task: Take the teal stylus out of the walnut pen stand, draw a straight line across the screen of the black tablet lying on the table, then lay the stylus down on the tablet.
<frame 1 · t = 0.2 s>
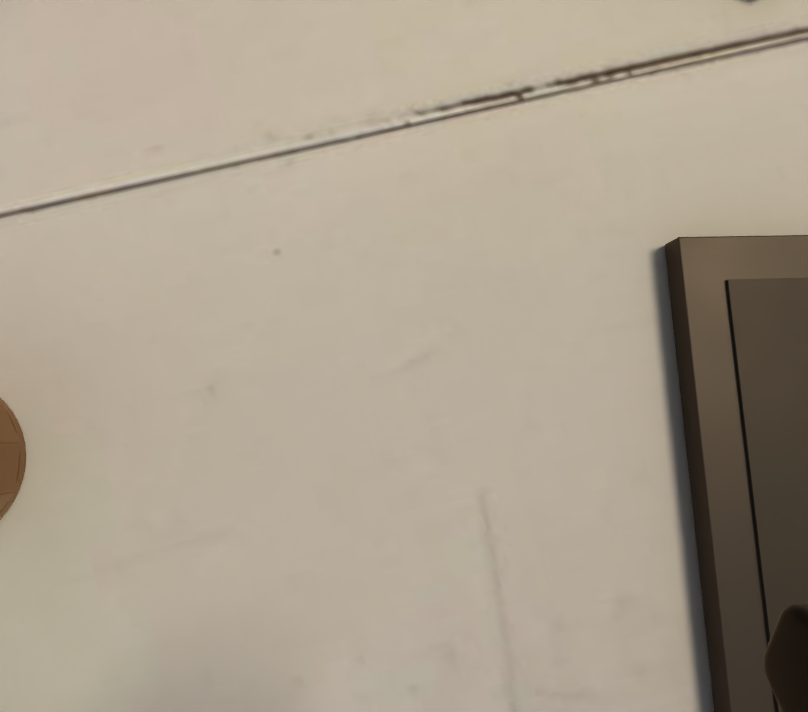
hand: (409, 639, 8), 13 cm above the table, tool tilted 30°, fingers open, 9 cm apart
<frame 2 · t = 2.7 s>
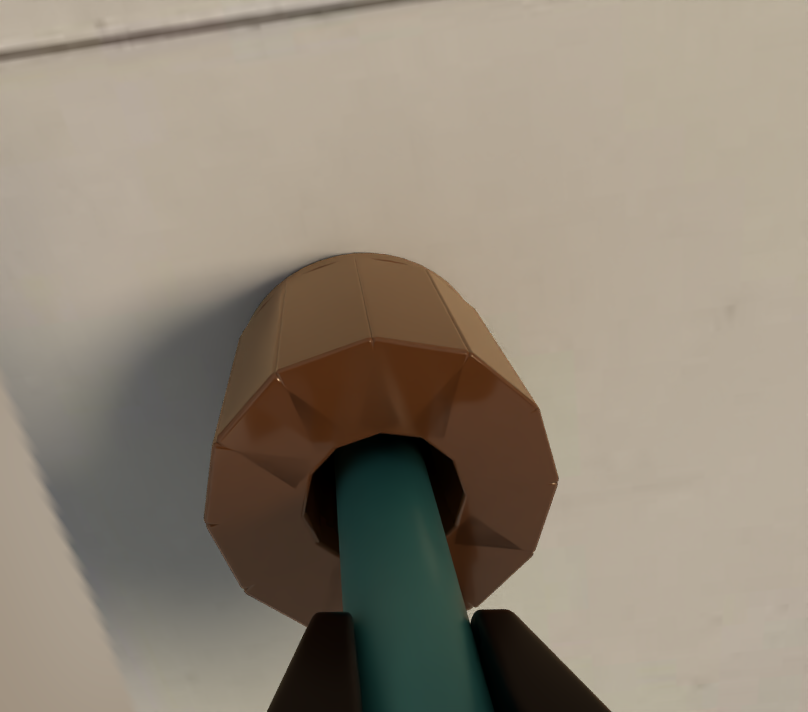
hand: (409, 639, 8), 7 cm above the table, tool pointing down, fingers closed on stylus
pen stand: (363, 372, 14), on the table
stylus: (365, 382, 13), resting on pen stand, touching gripper
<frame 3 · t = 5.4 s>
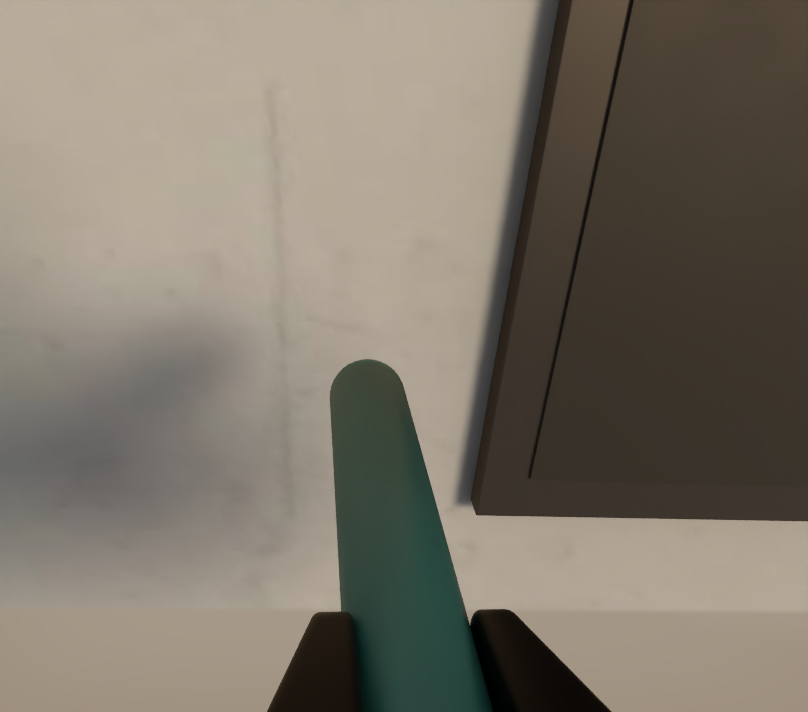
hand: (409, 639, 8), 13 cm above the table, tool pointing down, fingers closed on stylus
stylus: (364, 380, 13), point 6 cm above the table, touching gripper
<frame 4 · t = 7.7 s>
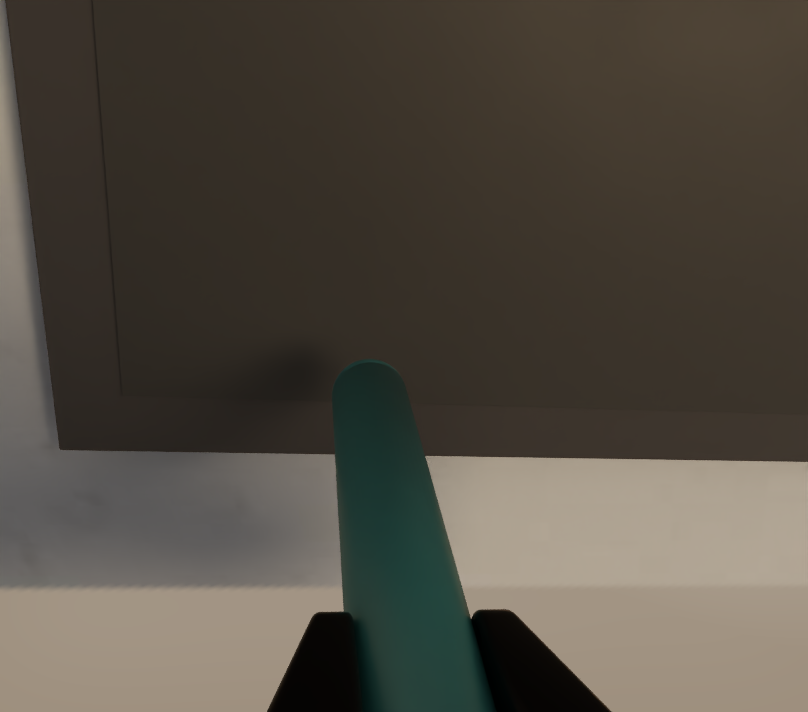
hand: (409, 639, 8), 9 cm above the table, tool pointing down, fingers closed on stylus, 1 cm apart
tablet: (725, 33, 14), on the table
stylus: (366, 380, 13), point 3 cm above the table, touching gripper
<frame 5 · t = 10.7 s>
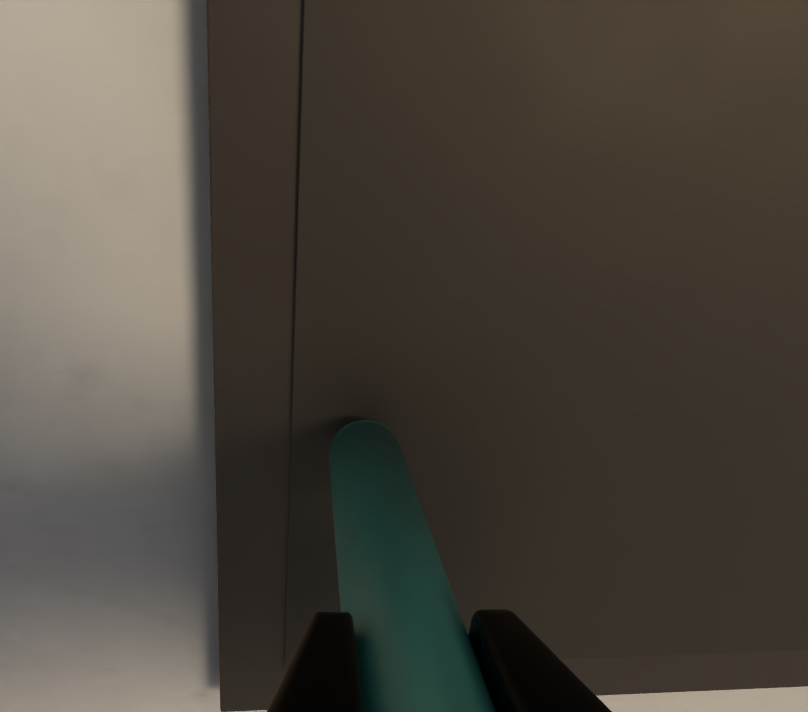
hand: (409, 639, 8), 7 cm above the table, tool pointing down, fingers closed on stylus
stylus: (362, 443, 14), point 1 cm above the table, tilted 10°, touching gripper
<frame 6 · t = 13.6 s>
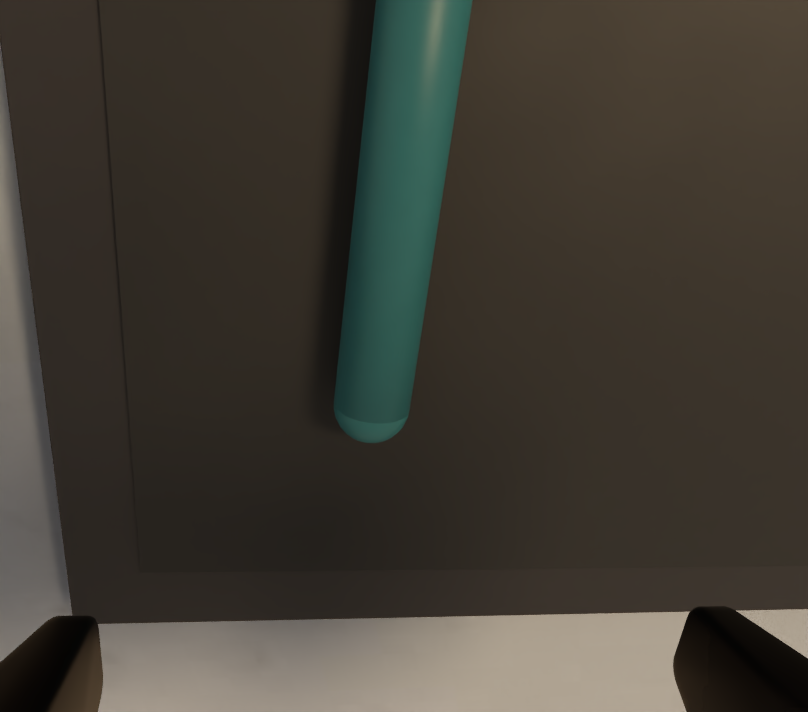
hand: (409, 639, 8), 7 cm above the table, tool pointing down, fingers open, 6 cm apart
tablet: (777, 196, 14), on the table
stylus: (367, 437, 13), point 2 cm above the table, tilted 90°, touching tablet
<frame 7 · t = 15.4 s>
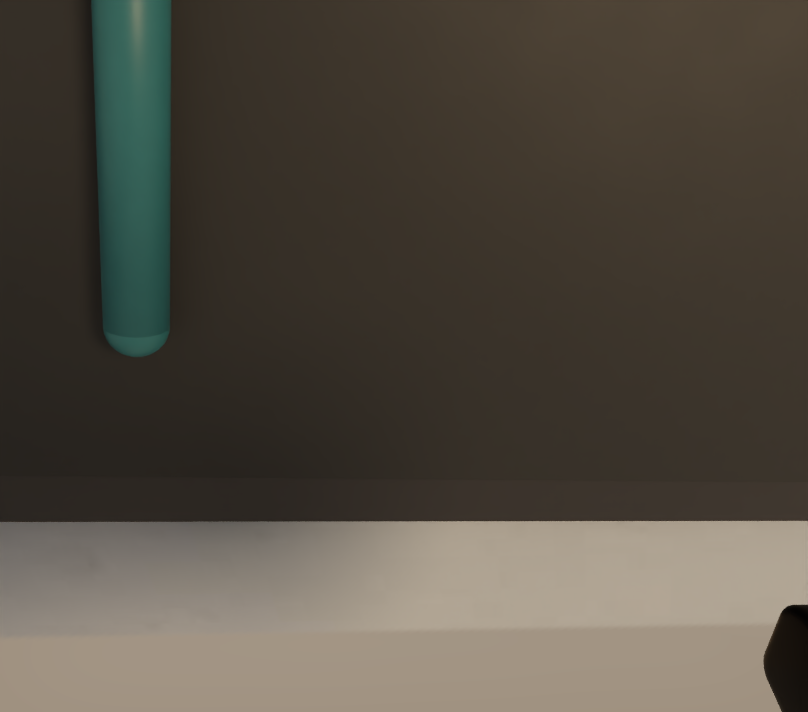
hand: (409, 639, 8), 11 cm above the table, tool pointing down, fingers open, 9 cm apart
tablet: (490, 158, 17), on the table
stylus: (137, 354, 16), point 2 cm above the table, tilted 90°, touching tablet
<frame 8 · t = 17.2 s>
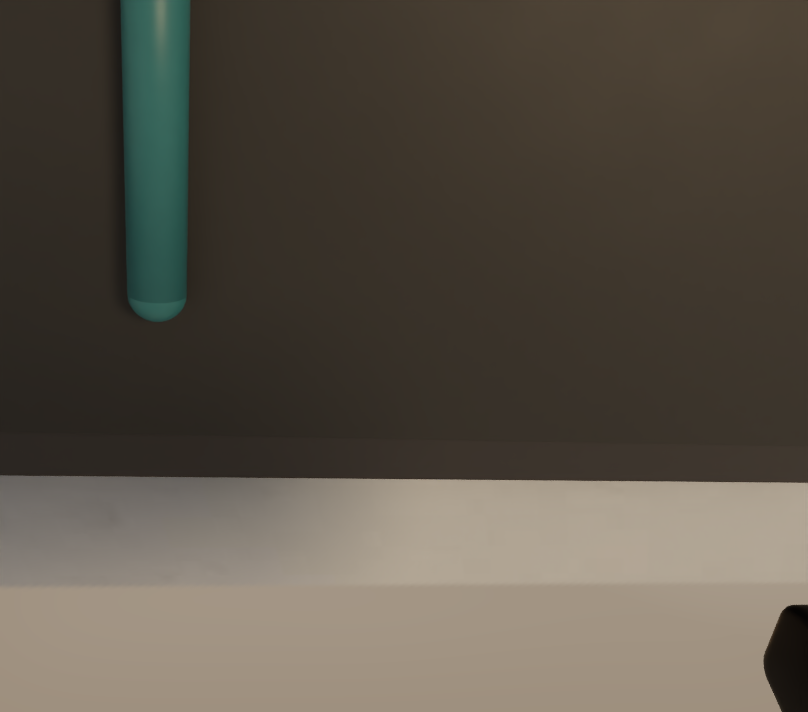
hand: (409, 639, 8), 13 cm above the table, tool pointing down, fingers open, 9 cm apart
tablet: (475, 143, 18), on the table
stylus: (157, 320, 17), point 2 cm above the table, tilted 90°, touching tablet
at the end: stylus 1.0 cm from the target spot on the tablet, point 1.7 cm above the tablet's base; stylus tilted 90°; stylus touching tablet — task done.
